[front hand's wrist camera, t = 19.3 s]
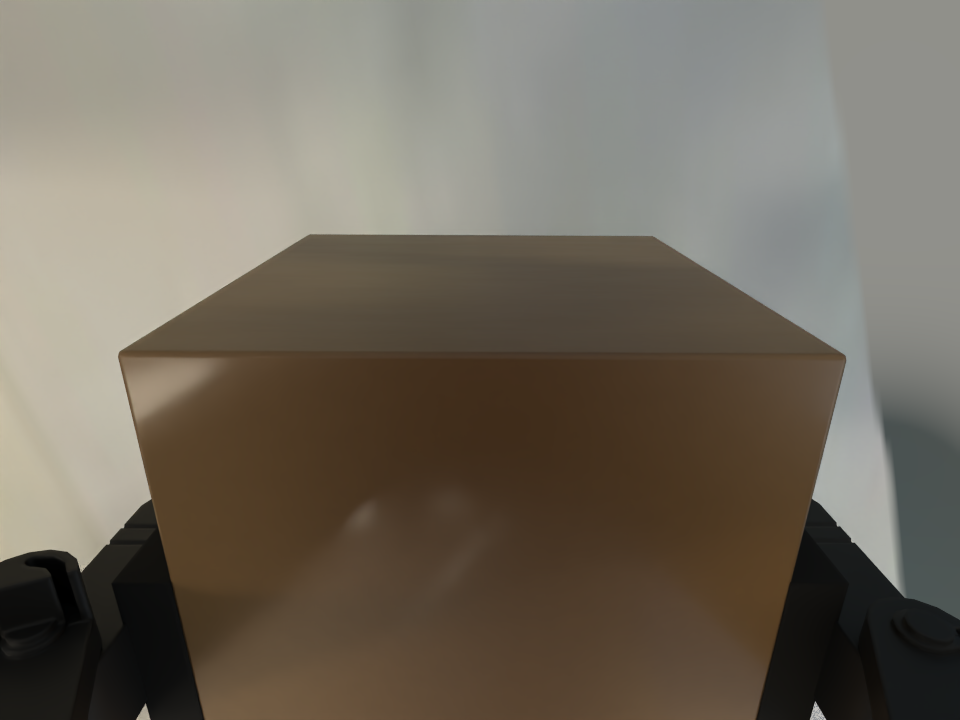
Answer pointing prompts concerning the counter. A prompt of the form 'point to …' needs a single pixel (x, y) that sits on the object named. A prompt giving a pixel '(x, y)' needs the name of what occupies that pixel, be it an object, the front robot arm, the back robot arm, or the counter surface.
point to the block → (480, 480)
